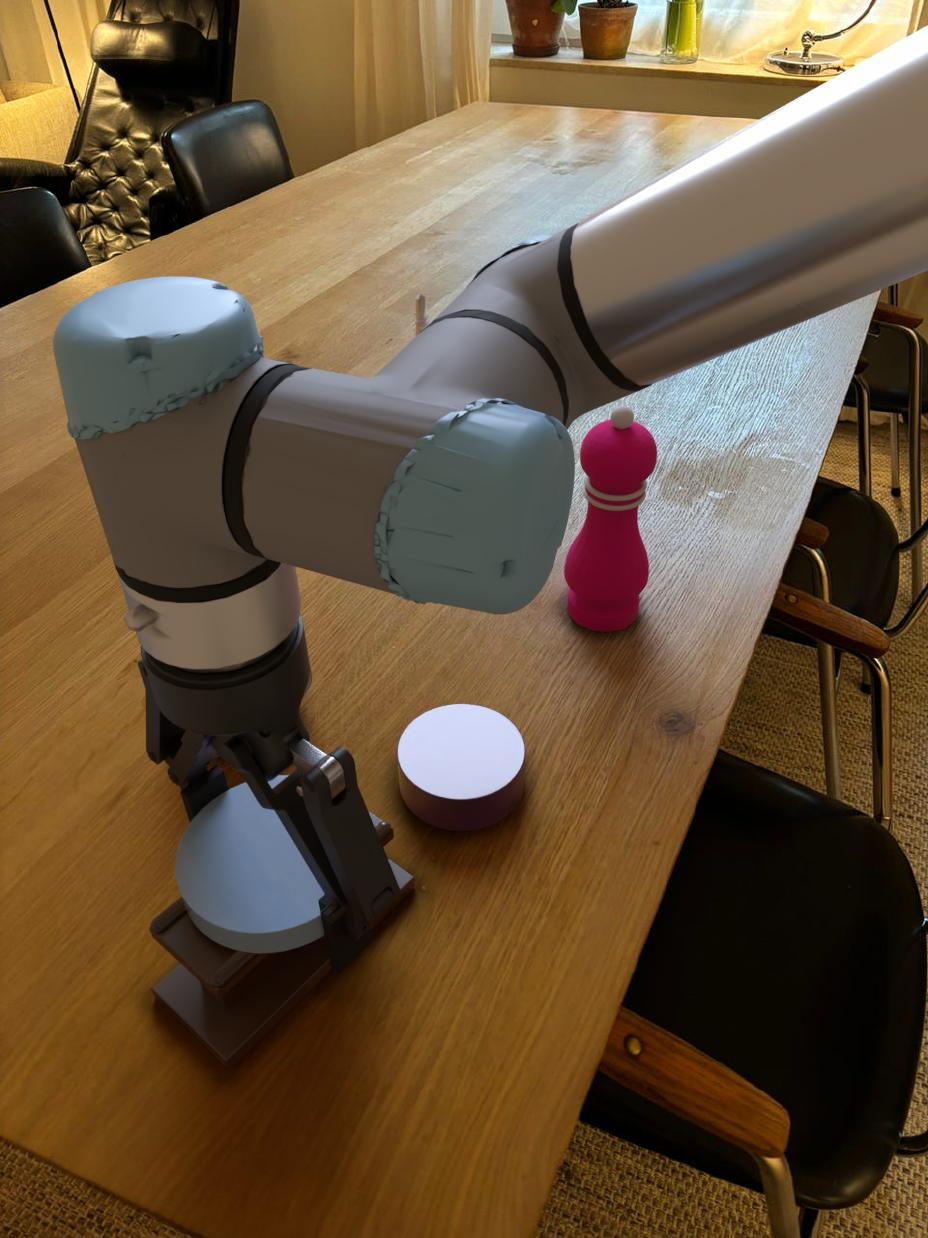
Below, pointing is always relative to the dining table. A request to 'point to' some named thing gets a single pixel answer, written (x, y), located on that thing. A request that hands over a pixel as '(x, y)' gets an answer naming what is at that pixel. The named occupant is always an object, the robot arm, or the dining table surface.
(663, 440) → the dining table surface
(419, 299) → the screw
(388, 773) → the dining table surface
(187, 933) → the plate rack
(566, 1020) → the dining table surface
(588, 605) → the pepper mill
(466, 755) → the plum stand
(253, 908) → the side plate
